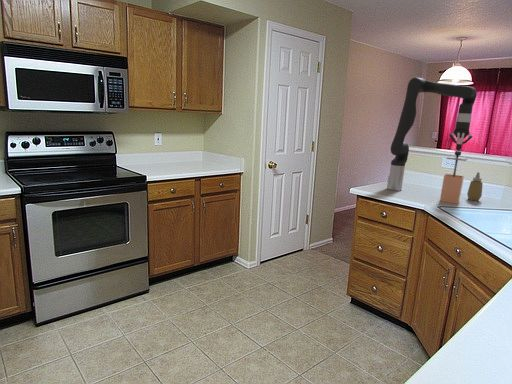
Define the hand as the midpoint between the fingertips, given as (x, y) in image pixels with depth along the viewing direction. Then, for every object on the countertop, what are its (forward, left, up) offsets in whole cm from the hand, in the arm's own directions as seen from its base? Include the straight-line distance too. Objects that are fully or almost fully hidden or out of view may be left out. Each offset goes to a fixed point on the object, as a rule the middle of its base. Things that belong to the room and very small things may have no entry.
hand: (458, 150), depth 223 cm
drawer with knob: (0, 0, -20) cm, 20 cm away
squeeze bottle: (+12, +16, -32) cm, 38 cm away
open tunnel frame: (0, 0, -32) cm, 32 cm away
